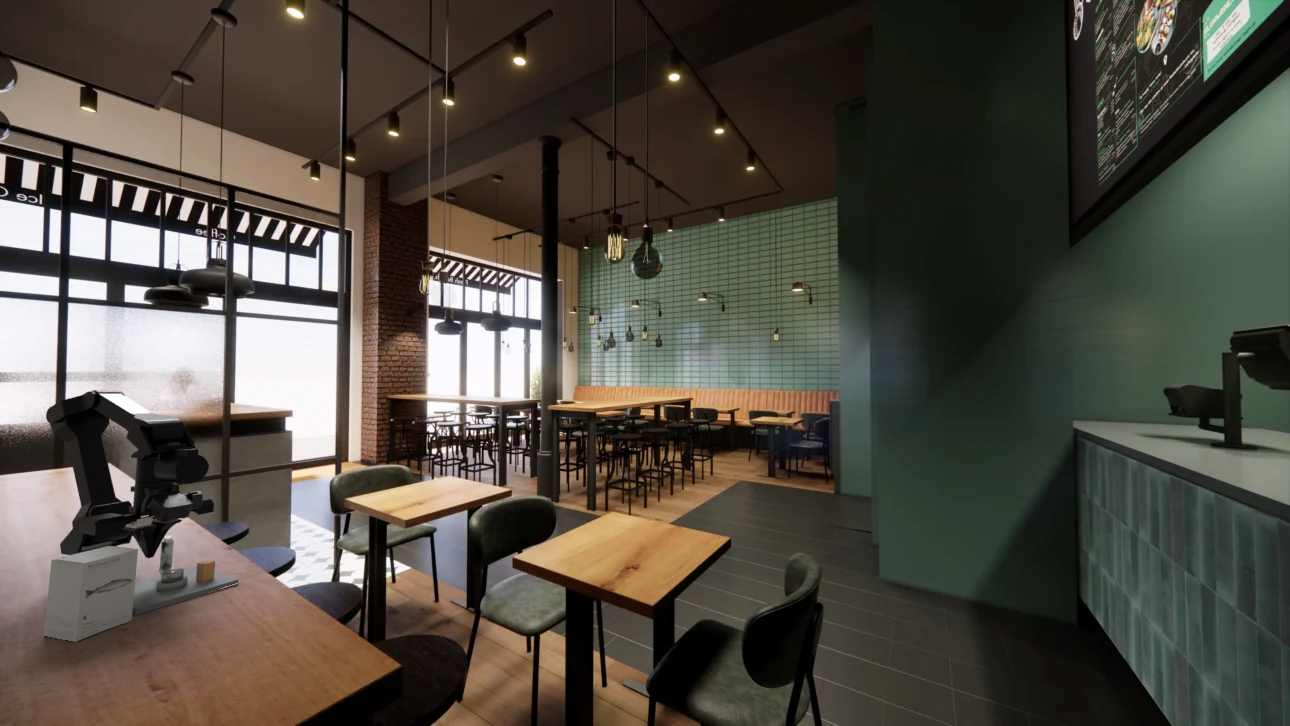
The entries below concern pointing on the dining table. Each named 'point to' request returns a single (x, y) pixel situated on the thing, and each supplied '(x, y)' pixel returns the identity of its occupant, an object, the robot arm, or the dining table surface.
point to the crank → (169, 563)
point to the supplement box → (90, 592)
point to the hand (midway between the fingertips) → (149, 557)
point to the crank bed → (179, 587)
